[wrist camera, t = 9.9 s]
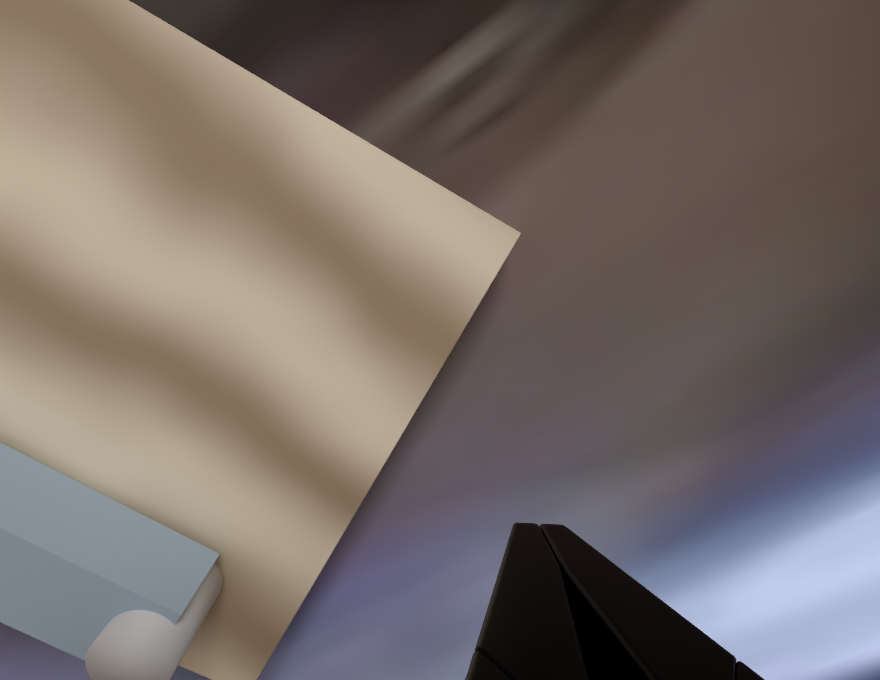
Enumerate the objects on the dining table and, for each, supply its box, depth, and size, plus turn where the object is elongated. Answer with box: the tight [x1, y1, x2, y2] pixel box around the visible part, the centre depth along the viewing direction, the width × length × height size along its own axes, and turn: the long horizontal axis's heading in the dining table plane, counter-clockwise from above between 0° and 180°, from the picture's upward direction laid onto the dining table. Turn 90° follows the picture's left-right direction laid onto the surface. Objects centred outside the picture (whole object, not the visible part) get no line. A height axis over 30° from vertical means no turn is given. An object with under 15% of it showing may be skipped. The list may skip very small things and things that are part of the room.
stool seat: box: [0, 0, 521, 680], centre depth 17 cm, size 20×20×2 cm
